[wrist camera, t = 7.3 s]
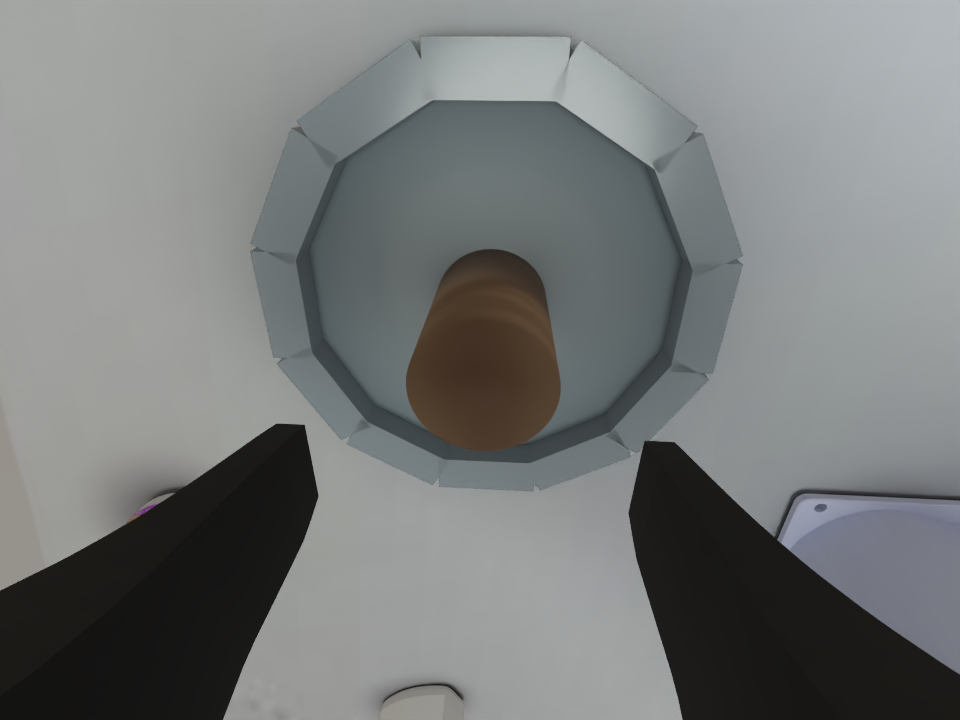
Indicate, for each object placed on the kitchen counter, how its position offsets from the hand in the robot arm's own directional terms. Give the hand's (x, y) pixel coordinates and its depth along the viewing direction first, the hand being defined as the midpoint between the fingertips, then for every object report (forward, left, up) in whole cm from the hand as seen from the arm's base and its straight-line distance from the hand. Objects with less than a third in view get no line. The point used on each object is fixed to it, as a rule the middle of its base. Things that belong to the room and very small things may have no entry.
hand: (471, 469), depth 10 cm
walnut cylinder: (0, 0, -9) cm, 9 cm away
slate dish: (0, -1, -9) cm, 9 cm away
